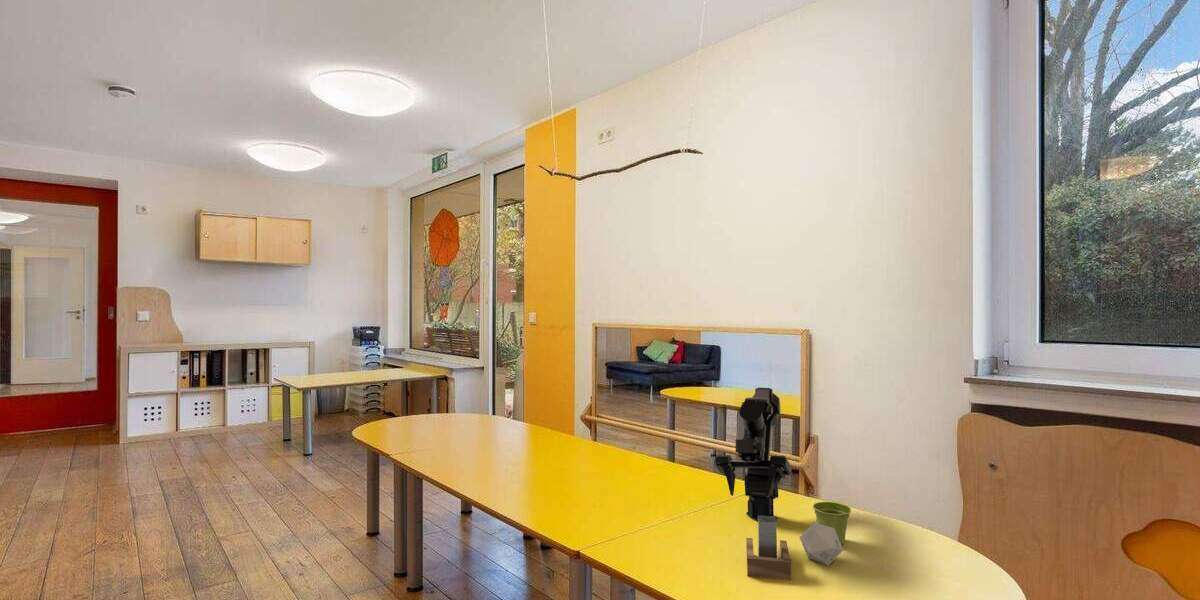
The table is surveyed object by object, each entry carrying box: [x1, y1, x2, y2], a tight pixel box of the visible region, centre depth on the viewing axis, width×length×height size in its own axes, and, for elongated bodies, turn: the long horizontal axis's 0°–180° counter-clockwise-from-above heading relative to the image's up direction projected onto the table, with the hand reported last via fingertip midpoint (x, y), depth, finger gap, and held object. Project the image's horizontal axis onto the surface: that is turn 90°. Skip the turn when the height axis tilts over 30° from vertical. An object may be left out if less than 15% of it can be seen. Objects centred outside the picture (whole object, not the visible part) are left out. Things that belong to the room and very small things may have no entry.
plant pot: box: [812, 501, 852, 545], centre depth 152 cm, size 9×9×9 cm
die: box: [799, 522, 844, 566], centre depth 141 cm, size 8×9×10 cm
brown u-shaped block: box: [745, 537, 792, 581], centre depth 138 cm, size 12×10×4 cm
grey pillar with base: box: [757, 515, 778, 558], centre depth 138 cm, size 7×4×11 cm, turn 167°
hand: (749, 495), depth 148 cm, fingers open, 9 cm apart
